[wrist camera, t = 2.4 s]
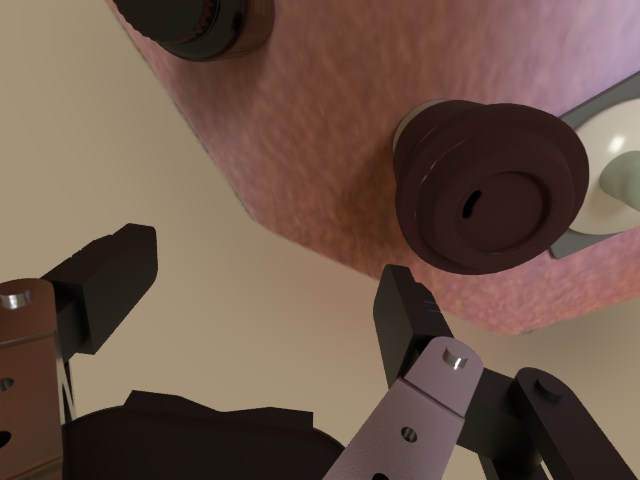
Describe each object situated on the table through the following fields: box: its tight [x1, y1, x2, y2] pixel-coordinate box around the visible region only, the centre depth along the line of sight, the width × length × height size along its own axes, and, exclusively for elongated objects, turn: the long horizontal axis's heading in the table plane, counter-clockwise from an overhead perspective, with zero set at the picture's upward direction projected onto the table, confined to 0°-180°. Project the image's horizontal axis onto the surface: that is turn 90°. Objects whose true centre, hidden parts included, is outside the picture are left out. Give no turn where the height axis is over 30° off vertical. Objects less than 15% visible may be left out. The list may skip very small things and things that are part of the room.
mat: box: [549, 71, 640, 260], centre depth 30 cm, size 14×14×1 cm
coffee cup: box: [393, 99, 590, 275], centre depth 23 cm, size 10×10×15 cm
